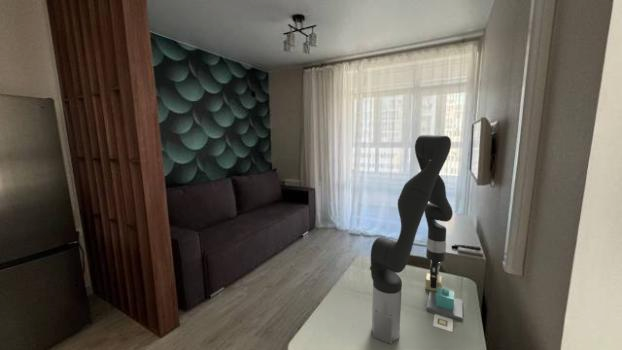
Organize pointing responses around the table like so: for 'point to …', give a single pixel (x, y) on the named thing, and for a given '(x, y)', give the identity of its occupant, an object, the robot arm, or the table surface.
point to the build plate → (454, 313)
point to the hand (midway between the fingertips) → (434, 282)
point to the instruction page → (443, 322)
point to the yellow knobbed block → (428, 282)
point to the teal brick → (445, 298)
